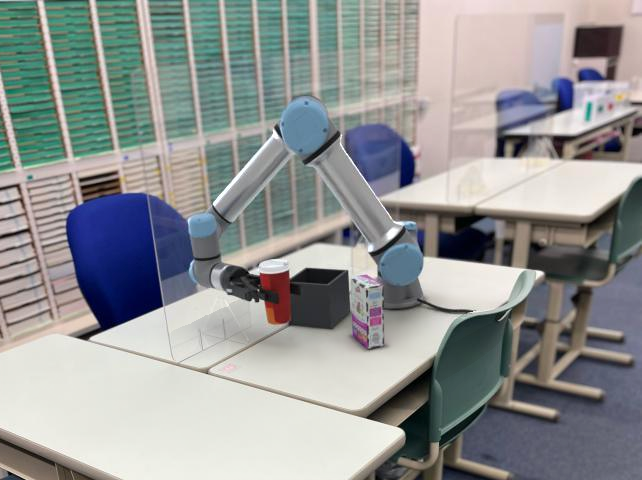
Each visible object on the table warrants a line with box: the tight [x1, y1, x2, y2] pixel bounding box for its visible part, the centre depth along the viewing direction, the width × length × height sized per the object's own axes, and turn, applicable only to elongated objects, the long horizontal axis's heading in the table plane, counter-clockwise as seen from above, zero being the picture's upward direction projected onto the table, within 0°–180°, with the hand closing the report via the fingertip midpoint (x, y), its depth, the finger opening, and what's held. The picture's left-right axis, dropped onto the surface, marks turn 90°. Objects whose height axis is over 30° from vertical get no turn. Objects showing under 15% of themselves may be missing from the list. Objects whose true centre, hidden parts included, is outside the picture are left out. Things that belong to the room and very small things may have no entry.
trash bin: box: [288, 267, 351, 330], centre depth 200 cm, size 14×14×13 cm
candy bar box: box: [349, 274, 385, 350], centre depth 181 cm, size 11×5×16 cm, turn 18°
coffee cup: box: [256, 258, 291, 326], centre depth 177 cm, size 8×8×15 cm
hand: (288, 294), depth 173 cm, fingers closed on coffee cup, 7 cm apart
